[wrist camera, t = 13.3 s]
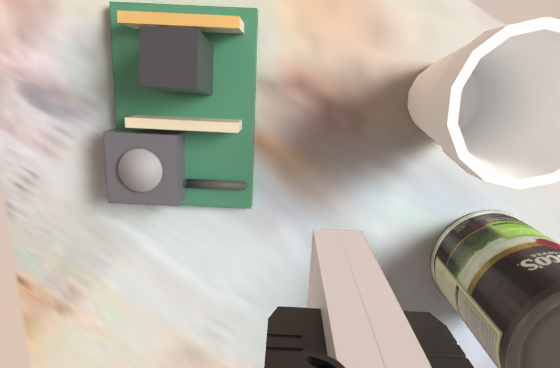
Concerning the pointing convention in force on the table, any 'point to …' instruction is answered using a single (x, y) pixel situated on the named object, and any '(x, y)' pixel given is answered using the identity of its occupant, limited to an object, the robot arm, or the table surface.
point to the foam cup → (497, 104)
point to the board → (183, 114)
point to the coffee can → (503, 286)
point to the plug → (175, 60)
